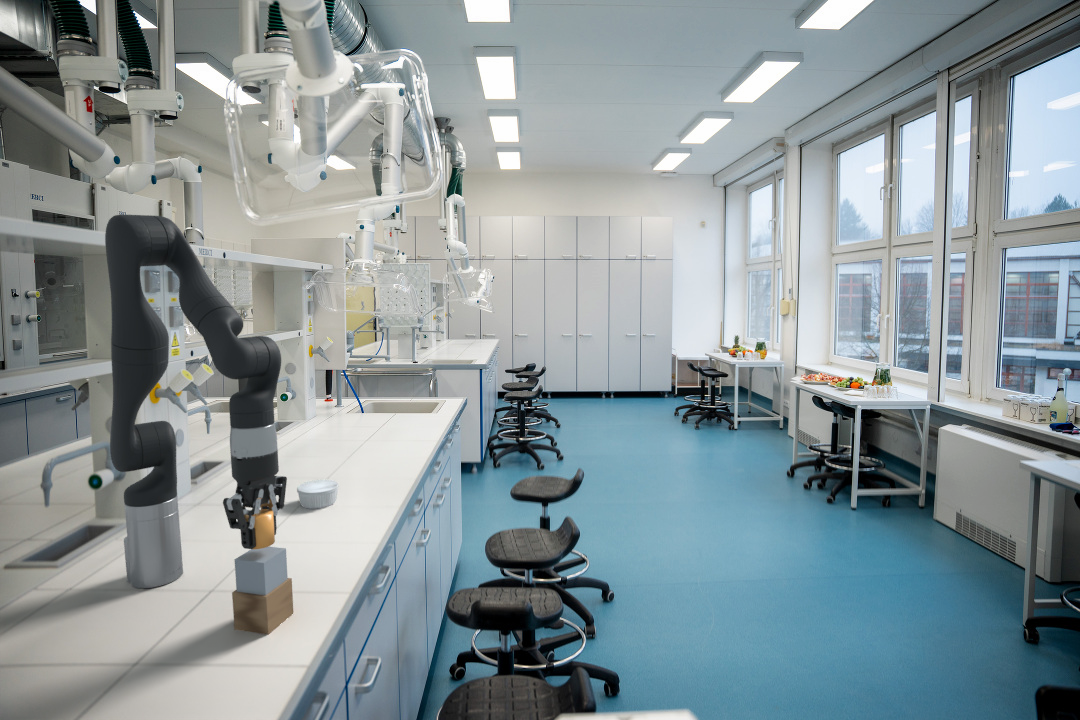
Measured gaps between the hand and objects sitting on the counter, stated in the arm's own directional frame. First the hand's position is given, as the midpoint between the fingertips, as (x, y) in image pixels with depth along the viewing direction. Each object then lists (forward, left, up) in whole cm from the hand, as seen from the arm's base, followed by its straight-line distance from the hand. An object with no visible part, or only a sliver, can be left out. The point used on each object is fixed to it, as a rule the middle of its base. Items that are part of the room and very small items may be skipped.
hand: (259, 541), depth 107 cm
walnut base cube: (0, 0, -15) cm, 15 cm away
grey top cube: (0, 0, -8) cm, 8 cm away
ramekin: (-26, +56, -16) cm, 64 cm away
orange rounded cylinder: (0, 0, 0) cm, 0 cm away
